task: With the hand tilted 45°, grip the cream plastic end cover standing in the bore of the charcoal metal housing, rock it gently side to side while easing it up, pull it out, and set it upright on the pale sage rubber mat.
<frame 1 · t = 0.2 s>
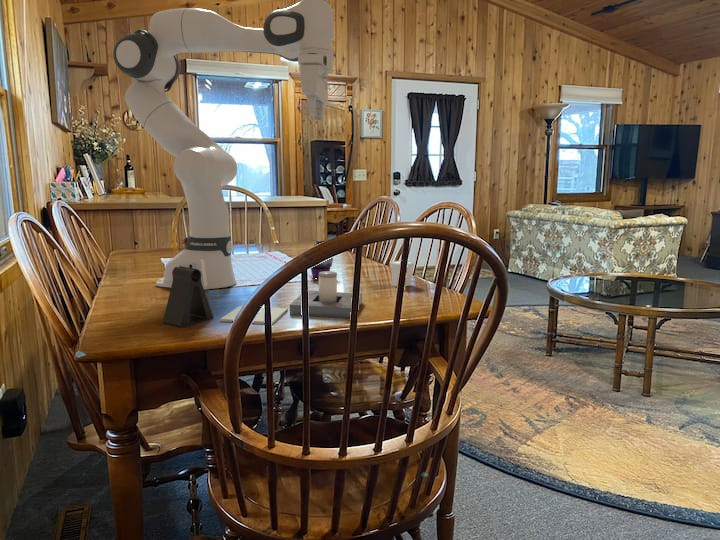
hand: (315, 118, 141), 47 cm above the table, tool pointing down, fingers open, 8 cm apart
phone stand: (188, 321, 117), on the table
housing: (327, 308, 130), on the table
potion bottle: (320, 278, 167), on the table
mat: (255, 315, 122), on the table
shot glass: (401, 285, 159), on the table
end cover: (327, 290, 129), in the housing
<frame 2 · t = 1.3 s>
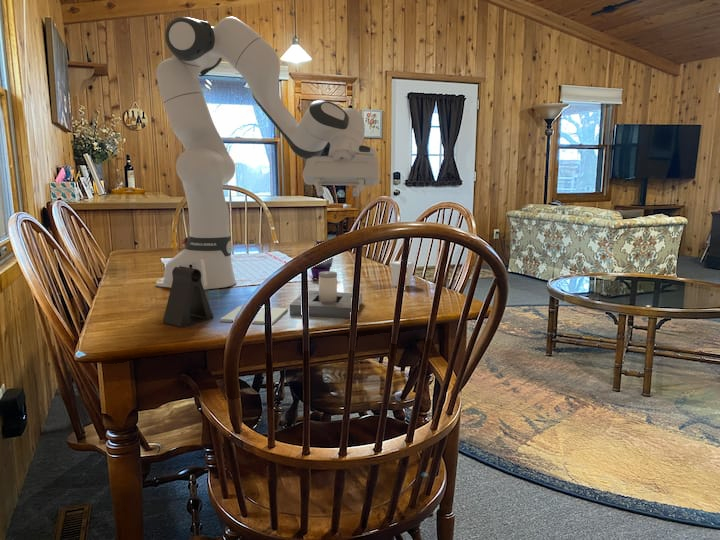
hand: (337, 194, 136), 27 cm above the table, tool tilted 45°, fingers open, 8 cm apart
nothing on the table moved.
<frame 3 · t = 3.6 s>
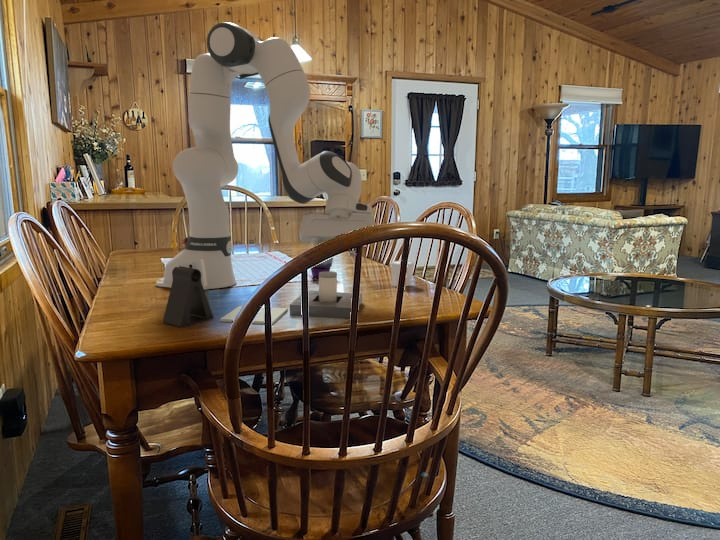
hand: (334, 254, 134), 12 cm above the table, tool tilted 45°, fingers open, 8 cm apart
nothing on the table moved.
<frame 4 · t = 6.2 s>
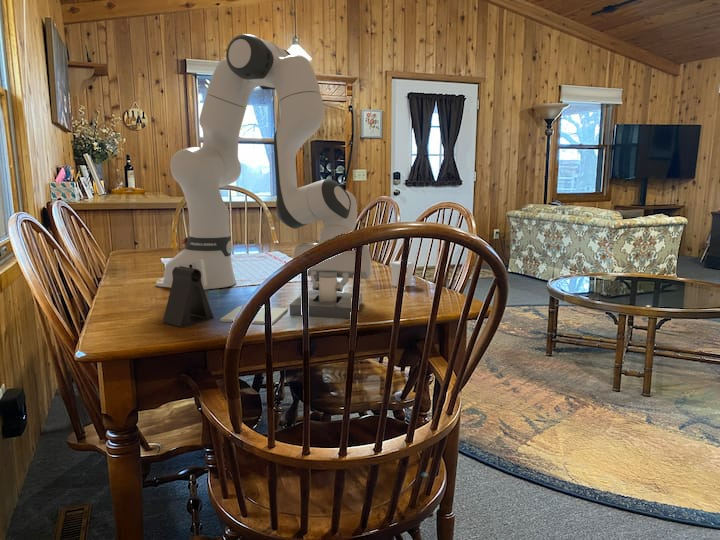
hand: (327, 289, 128), 5 cm above the table, tool tilted 45°, fingers closed on end cover, 4 cm apart
end cover: (327, 290, 129), in the housing, touching gripper
everything else where it was.
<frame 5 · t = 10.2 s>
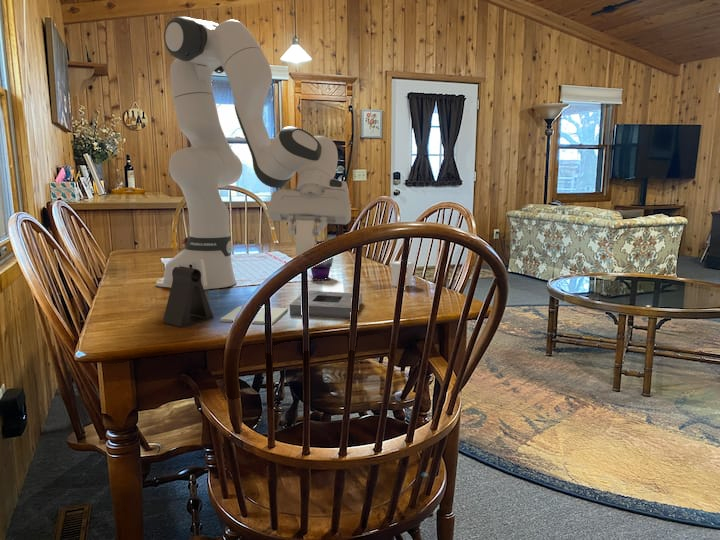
hand: (304, 233, 124), 19 cm above the table, tool tilted 45°, fingers closed on end cover, 4 cm apart
end cover: (305, 235, 124), point 18 cm above the table, touching gripper
everything else where it was.
when the fingers open (7 cm above the table, at t = 14.3 s): end cover drops 1 cm, resting on mat.
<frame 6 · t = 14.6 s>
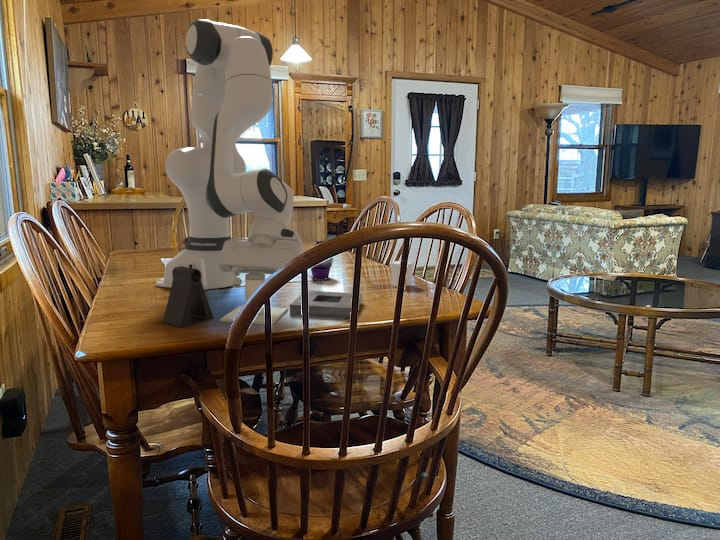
hand: (253, 287, 120), 7 cm above the table, tool tilted 45°, fingers open, 7 cm apart
end cover: (254, 294, 121), on the mat, point 5 cm above the table
everything else where it was.
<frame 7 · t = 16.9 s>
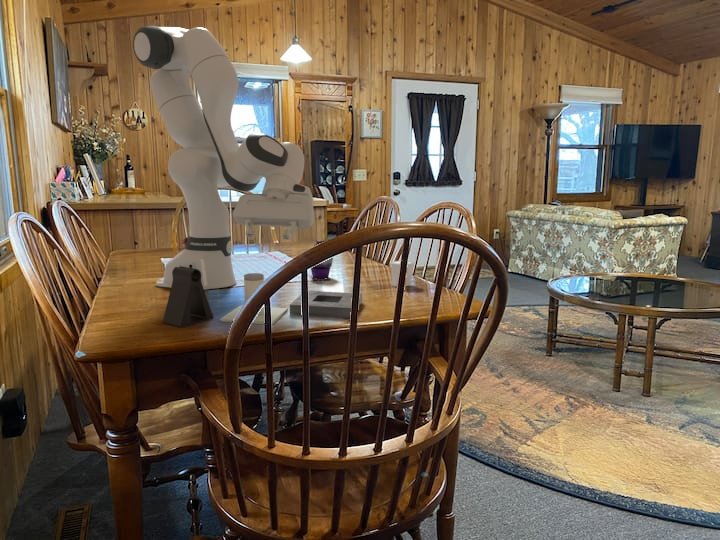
hand: (267, 237, 129), 17 cm above the table, tool tilted 45°, fingers open, 8 cm apart
nothing on the table moved.
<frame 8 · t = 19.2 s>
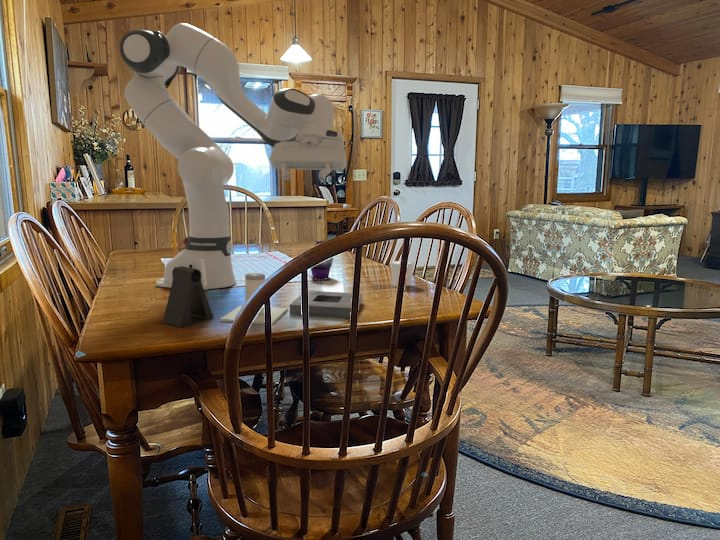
hand: (303, 178, 136), 31 cm above the table, tool tilted 45°, fingers open, 8 cm apart
nothing on the table moved.
at the end: end cover inside the target area on the mat (0.1 cm from its centre), point 5.2 cm above the mat's base; end cover tilted 2°; the gripper is holding nothing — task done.
